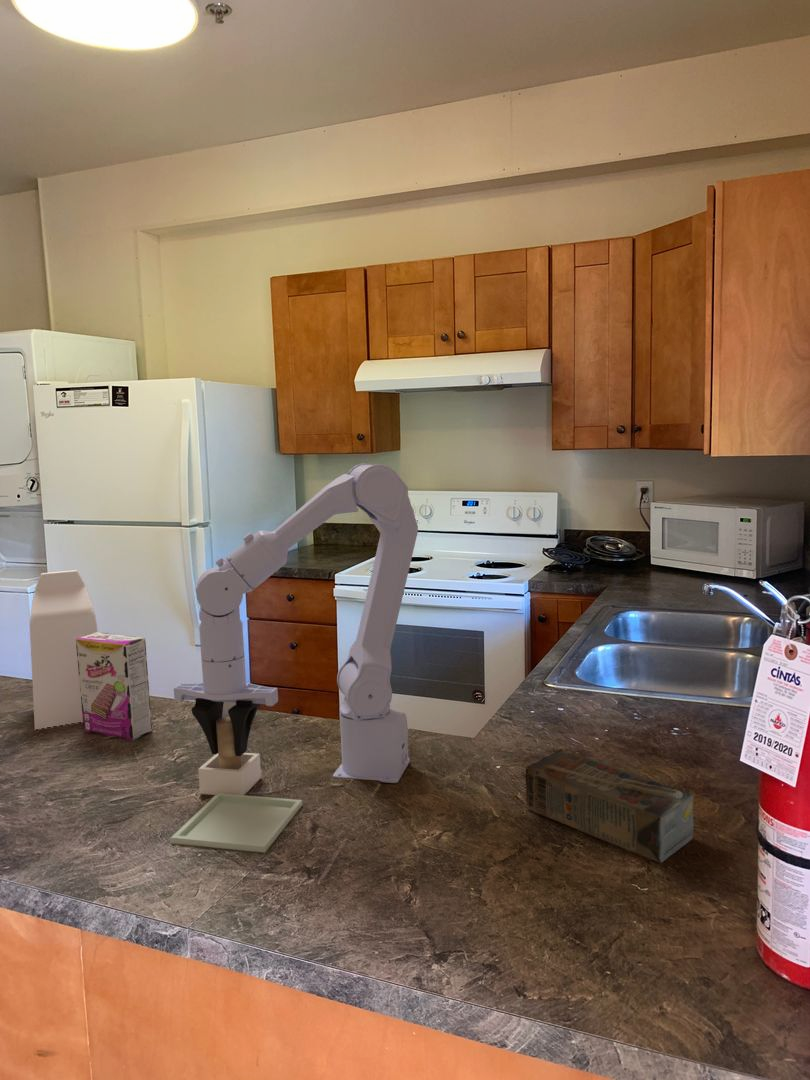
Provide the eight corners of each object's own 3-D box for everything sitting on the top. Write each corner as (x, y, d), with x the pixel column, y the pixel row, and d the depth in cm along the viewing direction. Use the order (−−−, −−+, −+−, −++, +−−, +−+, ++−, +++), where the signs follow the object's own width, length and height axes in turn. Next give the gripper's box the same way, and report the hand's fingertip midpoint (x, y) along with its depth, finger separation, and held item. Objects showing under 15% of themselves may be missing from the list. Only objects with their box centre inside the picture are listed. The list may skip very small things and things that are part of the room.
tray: (302, 808, 103) (301, 800, 103) (265, 856, 91) (264, 846, 91) (218, 801, 106) (217, 793, 105) (171, 847, 94) (170, 837, 94)
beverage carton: (660, 868, 87) (661, 811, 86) (522, 812, 101) (521, 762, 100) (695, 841, 92) (696, 787, 91) (559, 791, 106) (559, 744, 105)
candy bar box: (81, 733, 133) (73, 638, 131) (104, 723, 137) (96, 631, 135) (132, 742, 128) (124, 643, 126) (154, 731, 133) (146, 636, 130)
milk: (34, 730, 135) (20, 580, 132) (35, 709, 146) (22, 570, 142) (109, 718, 140) (97, 573, 137) (105, 699, 150) (93, 564, 147)
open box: (261, 780, 112) (259, 753, 111) (242, 800, 106) (240, 771, 105) (221, 777, 113) (219, 750, 113) (200, 796, 107) (198, 768, 107)
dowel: (245, 779, 110) (241, 717, 109) (236, 788, 108) (232, 724, 106) (226, 777, 111) (222, 716, 110) (216, 786, 108) (212, 723, 107)
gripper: (284, 650, 109) (289, 744, 111) (189, 647, 113) (195, 738, 114) (263, 664, 102) (269, 764, 104) (163, 661, 106) (170, 757, 108)
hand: (229, 752), depth 109 cm, fingers closed on dowel, 3 cm apart
